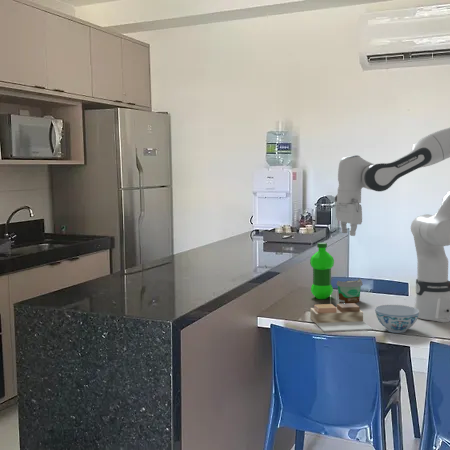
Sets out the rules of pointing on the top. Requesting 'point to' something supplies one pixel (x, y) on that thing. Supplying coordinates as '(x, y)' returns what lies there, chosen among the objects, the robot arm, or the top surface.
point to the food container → (349, 291)
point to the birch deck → (335, 316)
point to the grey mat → (344, 326)
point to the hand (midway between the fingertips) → (348, 234)
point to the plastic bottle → (322, 272)
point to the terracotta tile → (325, 308)
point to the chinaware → (396, 317)
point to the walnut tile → (348, 307)
